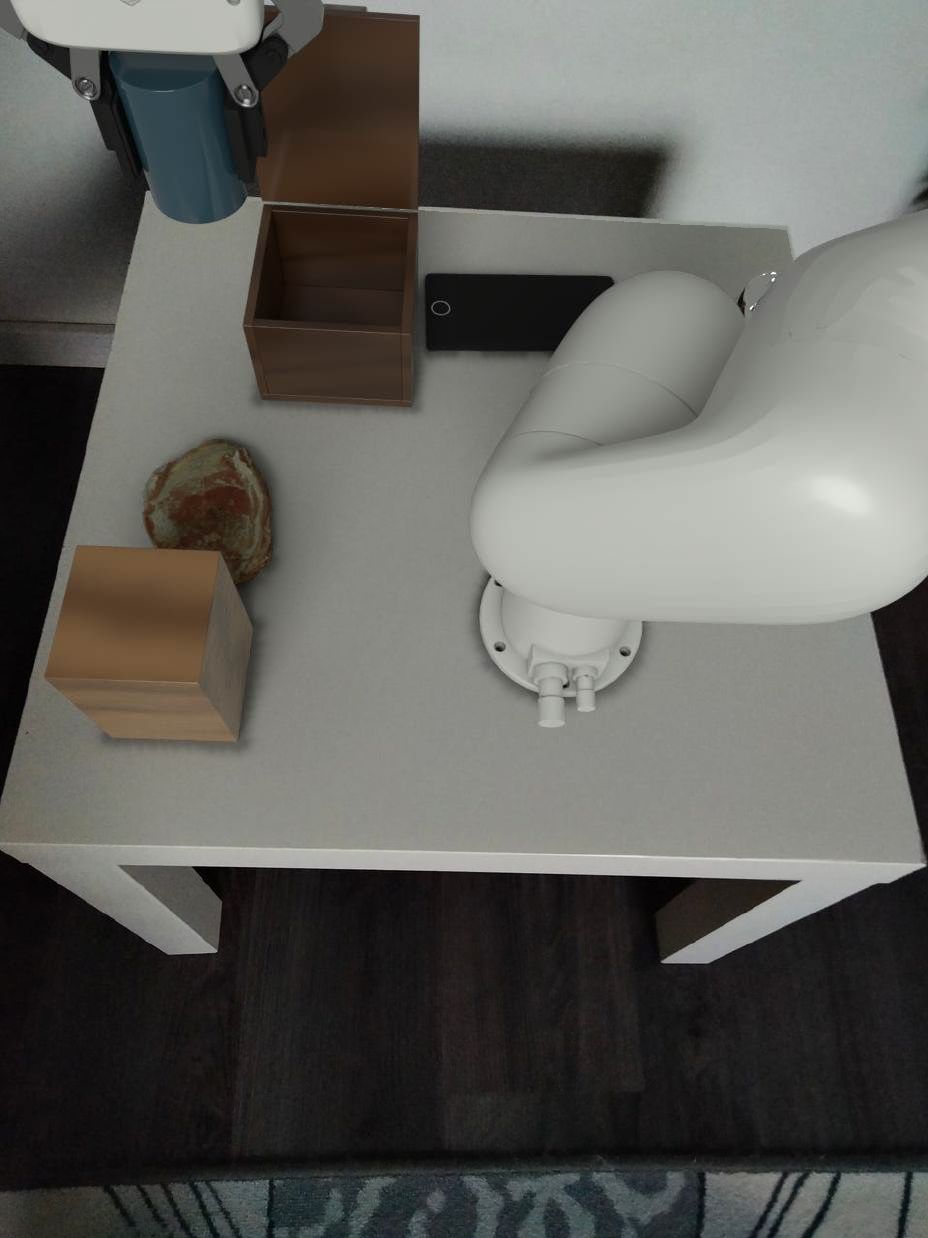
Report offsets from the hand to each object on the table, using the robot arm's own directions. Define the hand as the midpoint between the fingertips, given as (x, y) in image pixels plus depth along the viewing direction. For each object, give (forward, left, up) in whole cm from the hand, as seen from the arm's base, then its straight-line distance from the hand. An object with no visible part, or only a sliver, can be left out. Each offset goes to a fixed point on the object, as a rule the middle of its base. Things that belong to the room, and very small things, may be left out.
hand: (192, 159), depth 43 cm
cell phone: (+20, -20, -29) cm, 41 cm away
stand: (-18, +5, -29) cm, 35 cm away
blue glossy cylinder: (0, 0, -2) cm, 2 cm away
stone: (-4, +5, -30) cm, 30 cm away
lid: (+22, -4, -13) cm, 26 cm away
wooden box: (+15, -4, -29) cm, 33 cm away
